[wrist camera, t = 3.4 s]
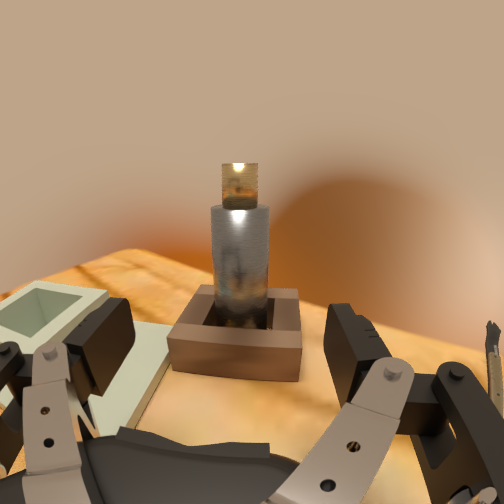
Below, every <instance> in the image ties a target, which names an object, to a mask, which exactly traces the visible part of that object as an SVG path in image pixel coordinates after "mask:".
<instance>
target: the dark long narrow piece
mask: <svg viewBox="0 0 504 504" xmlns="http://www.w3.org/2000/svg"><path fill="white" fill-rule="evenodd" d="M486 328H487V336H486V342H485V347H486V359H487V373H488V374H487V375H488V396H489V397H490V399H491V400H492V402H493V403H494V405H495V406H496V408H497V409H498V411H499V413H500V414H501V416H502V417H503V380H502V367H501V357H500V356H499V350H498V341H499V337H500V333H501V330H500V329H499V327H498V326H497V325H496V324H495V323H493V325H492V323H491V321H489V322H488V323H487V326H486Z"/></svg>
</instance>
